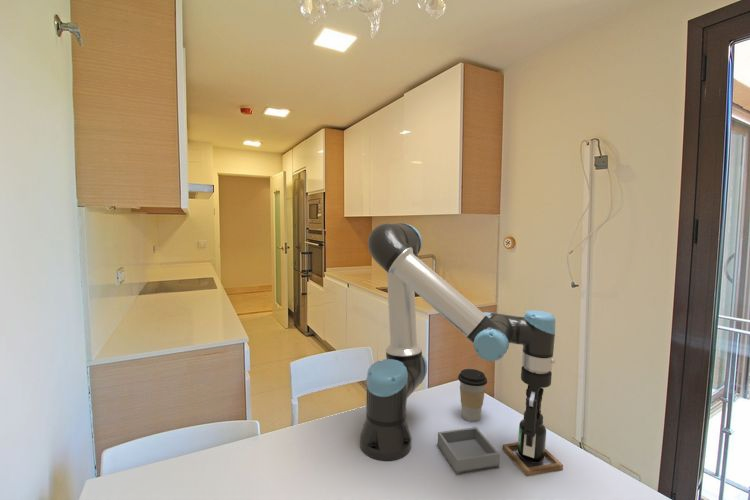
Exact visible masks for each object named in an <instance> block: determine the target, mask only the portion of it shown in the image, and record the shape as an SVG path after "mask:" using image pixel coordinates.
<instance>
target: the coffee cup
mask: <svg viewBox="0 0 750 500" xmlns="http://www.w3.org/2000/svg"><path fill="white" fill-rule="evenodd" d="M457 379H458V381H459V383H460V384H459V391H460V392H459V393H460V396H459V397H460V404H461V417H462V418H463V419H464V420H466V421H469V422H478V421H480V419H481V415H482V407H483V404H484V400H485V392H486V385H487V384H488V378H487V377H486V374H485V373H484V372H482V371H481V370H478V369H473V368H465V369H462V370H461V371H460V373H459V374H458V376H457Z"/></svg>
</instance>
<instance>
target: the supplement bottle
mask: <svg viewBox="0 0 750 500" xmlns="http://www.w3.org/2000/svg"><path fill="white" fill-rule="evenodd" d="M525 413H526V410H524V411H523V419H521V420H520V421H519V426H518V439H517V442H518V450H517V453H518V455H519V456H520V457H521V459H523V460H524V461H526V462H529V463H533V464H539V463H542V462H543V461H544V460H545V457H544V455H545V449H546V442H547V441H546V440H547V428H546V426H545V425H544V416H543V414H542V412H541V413H539V412H537V420H536V429H535V433H536V440H535V453H534V458H532V457H529V456H526V455H523V447H524V432H522V429H523V430H524V425H525Z"/></svg>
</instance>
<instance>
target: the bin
mask: <svg viewBox="0 0 750 500" xmlns="http://www.w3.org/2000/svg"><path fill="white" fill-rule="evenodd" d="M437 447H438V448H439V450H440V451H441V453H442V455H443V456H444V457H445V460H446V462H448V463H449V466H450V467H451V468H452V470H453V471H454V473H455V474H456V476H458V475H464V474H470V473H477V472H482V471H488V470H494V469H495V470H496V469H499V468H500V459H501V458H500V457H501V453H500V451H498V450H497V449H496V447H494V446H493V444H492V443H490V441H489V440H488V439H487V438H486V436H485V435H484V434H483V433H482V432H481V431H480V430H479V428H478V427H476V426H475V427H468V428H460V429H459V428H458V429H452V430H445V431H438V432H437Z"/></svg>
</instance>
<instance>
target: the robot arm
mask: <svg viewBox="0 0 750 500" xmlns="http://www.w3.org/2000/svg"><path fill="white" fill-rule="evenodd" d="M422 245H423V239H422V236H421V233H420V231H418V229H417V228H416V227H414V226H413V225H410V224H407V223H405V222H403V223H402V222H399V223H390V222H389V223H388V222H387V223H382V224H380V225H377V226H375V227H374V228H373V229H372V230H371V231H370V233H369V236H368V239H367V249H368V252H369V254H370V256H371V258H372V259H373V260H374V261H375V263H377V264H378V265H379V266H380V267H381V268H382V269H383V270H385V272H386V278H387V279H386V281H387V282H386V283H387V284H386V285H387V299H388V302H387V304H388V321H389V322H388V323H389V324H388V325H389V342H390V344H389V345H388V346H387V347H386V348H385V355H386V356H385V359H382V360H377V361H375V362H373V363H372V364H371V365H370V366H369V368H368V370H367V374H366V379H365V380H366V381H365V382H366V383H365V384H366V400H365V401H366V405H365V406H366V410H365V411H366V413H365V414H366V416H365V420H364V423H363V425H362V428H361V432H360V435H359V446H360V449H361V450H362V452H363V453H365V455H367V456H369V457H370V458H371V459H375V460H380V461H395V460H399V459H400V458H403V457H405V456H406V455H408V453H409V452H410V450H411V449H412V434H411V431H410V429H409V425H408V421H407V401H408V398H410V396H411V395H412V394H413V393H414V392H415V391H416V390H417V388H418V387H419V386H420V385H421V384H422V383H423V381H424V380H425V377H426V375H427V373H428V364H427V363H428V362H427V360H426V357H425V356H424V355H423V351H422V350H423V349H422V347H421V346H420V345H419V344H418V340H417V320H416V318H417V317H416V301H415V300H416V297H415V295H416V294H417V295H418V296H419V297H421V298H422V299H423V301H425V302H426V303H427V304H428V305H430V307H432V308H433V309H434V310H435V311H437V312H438V313H439V314H440V315H441V316H442V317H443V318H444V319H445V320H446V321H448V323H450V324H451V325H452V326H453V327H454V328H455V329H456V330H458V331H459V332H460V333H461V334H463V336H465V337H466V339H468V340H469V341H470V342H471V343H472V344H473V348H474V351H475V352H476V354H477V355H478V357H480V359H482V360H485V361H487V362H497V361H499V360H501V359H502V358H504V355H505V354H506V353H507V351H508V350H509V346H510V344H515V345H521V346H522V352H521V353H522V354H521V365H522V366H521V371H520V379H521V381H522V382H523V383H524V384H526V385H527V388H526V390H525V394H526V398H525V411H526V413H525V425H524V430H523V429H522V432H524V447H523V455H526V456H529V457H532V458H534V453H535V440H536V433H535V429H536V420H537V412H539V413H541V414H542V411H541V409H542V401H543V395H544V388H548V387H550V386H551V385H552V377H553V375H552V370H553V364H555V363H556V360H555V359H553V357H554V349H555V348H554V347H555V339H556V317H555V316H554V315H553V314H552V313H551V312H547V311H543V310H536V309H535V310H534V309H533V310H531V309H530V310H527V311H526V312H525V313H524V314H525V315H524V316H516V315H509V314H504V313H503V314H502V313H497V312H494V311H493V312H486V311H484V312H483V311H482V310H480V309H479V307H477V306H476V305H474V304H473V303H472V302H471V301H470V300H469V299H467V298H466V297H465V296H464V295H463V294H462V293H461V292H459V291H458V290H457V289H455V288H454V287H453V286H452V285H451V284H450V283H448V281H446V280H445V279H444V278H442V277H441V276H440V275H439V274H438V273H437V272H435V271H434V270H433V269H431V267H430V266H428V265H427V264H426V263H425V262H423V261H422V260H421V259H420V258H419V253H420V252H421V249H422ZM415 293H416V294H415Z"/></svg>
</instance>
